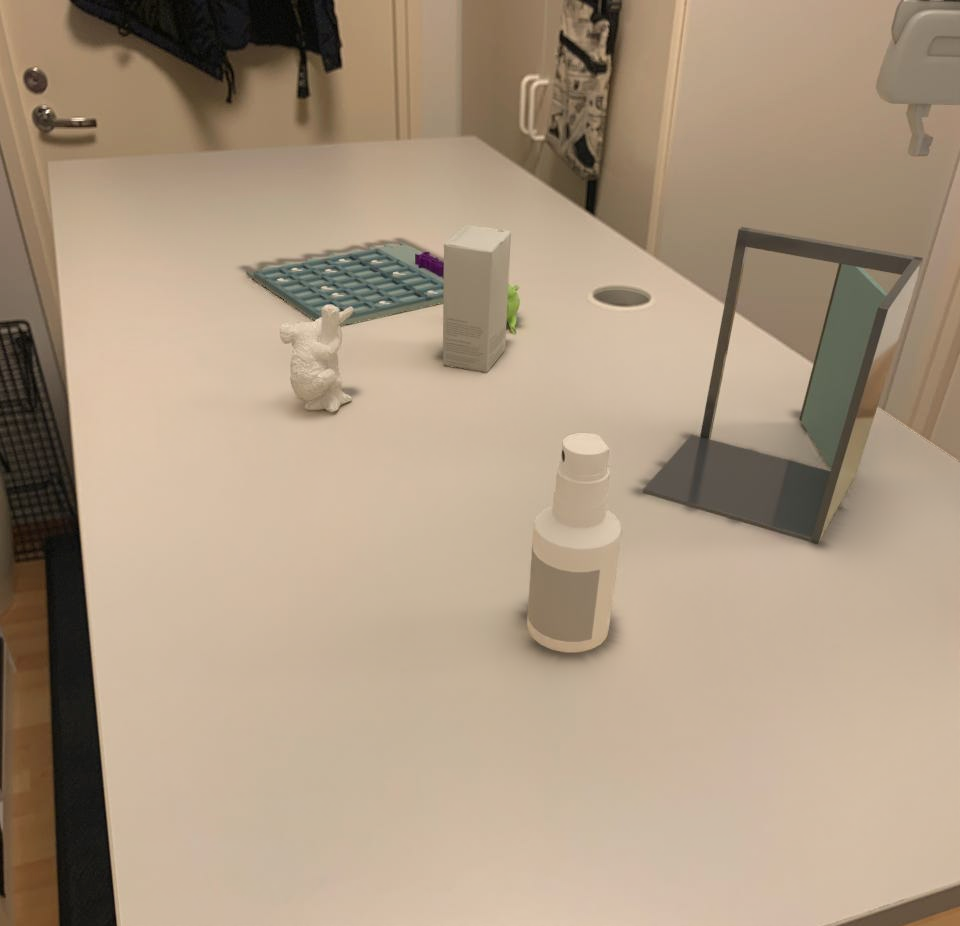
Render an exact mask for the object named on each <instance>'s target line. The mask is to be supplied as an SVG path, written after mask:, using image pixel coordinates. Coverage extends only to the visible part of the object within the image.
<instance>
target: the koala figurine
mask: <svg viewBox="0 0 960 926" xmlns="http://www.w3.org/2000/svg"><path fill="white" fill-rule="evenodd" d="M339 311H340V310H339V308H338V307H335V306H334V305H330V304H329V305H325V306H324V307H323V308H322V309H321V312H322V317H320V318H319V319H316V320H315V321H314V320H312V321H306V322H305V321H303V322H302V321H301V322H297V323H294V324H293V325H292V324H290V323H288V322H283V323H282V324H281V325H280V327H279V337H280V339H281V340H280V341H282V343H283V344H285V345H288V344H291V346H292V348H293V350H292V354H291V358H290V359H291V360H290V375H289V381H290V385H291V389H292V391H293V393H294V394H295V395H296V397H298V398H299V399H301V400H303V401H306V403H305V405H304V409H305V410H306V411H320V410H326V411H327V412H330V413H334V412H336V411H338V410H339V408H340V406H342V405H344V404H346V403H350V402H352V401H353V397H352V396H351V395H350V394H347V393H345V392H343V390H342V386H343V385H342V384H343V379H342V377H341V373H340V367H339V363H340V362H339V356H338V353H339V350H340V348H341V345H342V341H343V332H342V329H341V327H339V325H340V324H341V323H343V321H344V320H345V319H346V318H348V317H350V315H351V314H352V313H353V311H354V309H353V307H349V308H347V309H345V310H344V311H343V312H339Z"/></svg>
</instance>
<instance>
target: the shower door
mask: <svg viewBox="0 0 960 926" xmlns="http://www.w3.org/2000/svg"><path fill="white" fill-rule="evenodd" d="M888 293H889V292H887V291H886V290H885V288H884V287H882V286H881V285H880V284H879V283H878V282H877V280H875V279H874V278H873V277H872V276H871V275H870V274H869V273H868V272H867V271H866V270H865V268H861V267H856V266H850V265H844V264H839V263H838V267H837V270H836V274H835V278H834V281H833V286H832V290H831V293H830V298H829V302H828V306H827V309H826V314H825V318H824V322H823V325H822V329H821V333H820V336H819V340H818V345H817V349H816V353H815V357H814V359H813V364H812V368H811V372H810V375H809V380H808V383H807V387H806V392H805V396H804V399H803V403H802V407H801V412H800V415H799V421H800V422H801V424H802V426H803V427H804V428H805V430H806V431H807V433H808V434H809V436H810V438H811V440H812V441H813V443H814V444H815V446H816V449H818V451H819V453H820V454H821V455H822V457H823V459H824V460H825V462H826V463H827V466H828V467H829V469H831V468H832V465H833V461H834V458H835V454H836V451H837V447H838V444H839V440H840V437H841V434H842V430H843V427H844V423H845V420H846V416H847V413H848V409H849V406H850V403H851V399H852V396H853V392H854V389H855V385H856V382H857V378H858V375H859V371H860V368H861V365H862V361H863V358H864V354H865V351H866V347H867V344H868V340H869V337H870V334H871V330H872V327H873V323H874V320H875V316H876V313H877V309H878V307H879V306H880V304H881V303H882V301H883V300H884V299H885V297H886V296H887V294H888Z"/></svg>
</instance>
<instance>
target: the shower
mask: <svg viewBox="0 0 960 926" xmlns="http://www.w3.org/2000/svg"><path fill="white" fill-rule="evenodd" d="M734 246H735V247H734V251H733V257H732V262H731V267H730V272H729V273H730V274H729V278H728V284H727V289H726V294H725V295H726V296H725V300H724V305H723V311H722V315H721V321H720V327H719V332H718V338H717V344H716V349H715V353H714V359H713V364H712V370H711V376H710V379H709V380H710V381H709V385H708V391H707V397H706V402H705V407H704V413H703V419H702V424H701V429H700V434H699V436H698V435H694V434H691V435H690V436H689V437H688V438H687V439H686V440H685V441H684V443H682V444H681V446H680V447H679V448H678V449H677V450H676V452H675V453H674V454H673V455H672V456H671V457H670V458H669V459H668V460H667V462H665V464H664V465H663V466H662V467H661V468H660V469H659V471H658V472H657V473H656V474H655V475H654V476H653V477H652V478H651V480H650V481H648V483H647V484H646V485H645V486H644V488H642V494H645V495H649V496H652V497H656V498H659V499H663V500H666V501H670V502H672V503H673V502H674V503H677V504H680V505H683V506H686V507H690V508H693V509H696V510H700V511H704V512H706V513H707V512H708V513H710V514H714V515H717V516H721V517H724V518H727V519H731V520H735V521H737V522H741V523H745V524H748V525H751V526H755V527H758V528H761V529H765V530H769V531H772V532H776V533H778V534H782V535H786V536H789V537H791V538H796V539H799V540H802V541H806V542H809V543H813V544H816V545H820V542H821V540H822V539H823V537H824V535H825V533H826V532H827V530H828V528H829V526H830V524H831V523H832V520H833V519H834V517H835V515H836V513H837V511H838V510H839V508H840V506H841V504H842V502H843V500H844V498H845V497H846V495H847V493H848V491H849V489H850V487H851V486H852V484H853V482H854V480H855V478H856V476H857V473H858V471H859V468H860V465H861V461H862V457H863V455H864V452H865V448H866V445H867V441H868V439H869V435H870V432H871V429H872V426H873V422H874V419H875V415H876V413H877V409H878V407H879V403H880V399H881V396H882V393H883V390H884V386H885V383H886V381H887V377H888V374H889V370H890V367H891V364H892V361H893V358H894V355H895V351H896V348H897V345H898V342H899V338H900V336H901V332H902V329H903V326H904V323H905V319H906V315H907V313H908V310H909V306H910V303H911V300H912V297H913V293H914V291H915V290H914V289H915V287H916V284H917V280H918V277H919V274H920V270H921V267H922V264H923V261H924V257H920V256H914V255H909V254H903V253H897V252H890V251H885V250H879V249H873V248H867V247H863V246H857V245H850V244H846V243H845V244H844V243H838V242H833V241H827V240H821V239H815V238H810V237H804V236H798V235H792V234H786V233H780V232H774V231H769V230H763V229H758V228H751V227H745V226H741V227H739V228H738V230H737V235H736V240H735V245H734ZM748 248H750V249H756V250H761V251H767V252H773V253H778V254H784V255H789V256H795V257H801V258H806V259H812V260H817V261H822V262H829V263H834V264H838V265H839V264H844V265H850V266H856V267H861V268H863V269H868V270H872V271H879V272H883V273H890V274H895V275H900V277H898V279H897V280H896V282H895V283H894V285H893V286H892V287H891V288H890V290H889V291H888V292H887V293H888V294H887V296H886V297H885V299H884V300H883V301H882V303H881V304H880V306H879V307H878V309H877V313H876V316H875V320H874V323H873V327H872V330H871V334H870V337H869V340H868V344H867V347H866V351H865V354H864V358H863V361H862V365H861V368H860V371H859V375H858V378H857V382H856V385H855V389H854V392H853V396H852V399H851V403H850V406H849V409H848V413H847V416H846V420H845V423H844V427H843V430H842V434H841V437H840V440H839V444H838V447H837V451H836V454H835V458H834V461H833V465H832V468H830V470H828V469H824V468H820V467H817V466H812V465H808V464H804V463H801V462H797V461H793V460H789V459H786V458H782V457H778V456H774V455H770V454H767V453H763V452H760V451H755V450H751V449H748V448H744V447H740V446H737V445H732V444H729V443H725V442H721V441H717V440H714V439H711V438H712V434H713V429H714V425H715V418H716V412H717V406H718V402H719V397H720V392H721V386H722V382H723V377H724V371H725V366H726V361H727V356H728V350H729V346H730V341H731V334H732V330H733V325H734V320H735V315H736V310H737V306H738V305H737V304H738V300H739V293H740V289H741V283H742V279H743V275H744V274H743V273H744V269H745V265H746V264H745V263H746V259H747V252H748Z"/></svg>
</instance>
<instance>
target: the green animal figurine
mask: <svg viewBox="0 0 960 926" xmlns="http://www.w3.org/2000/svg"><path fill="white" fill-rule="evenodd" d="M519 289H520V286H519V285H518V284H515V285H514V286H512V285H511V284H509V283H508V300H507V320H506V324H507V325H508V327H509V329H510V331H511V332H512V334H514V333H516V334H517V329H516V327H515V326H516V325H517V320H518V319H517V316H516V314H517V313H518V311H519V310H520V309H519V308H520V304H521V301H520V297H519V294H518V293H517V291H519Z"/></svg>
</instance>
